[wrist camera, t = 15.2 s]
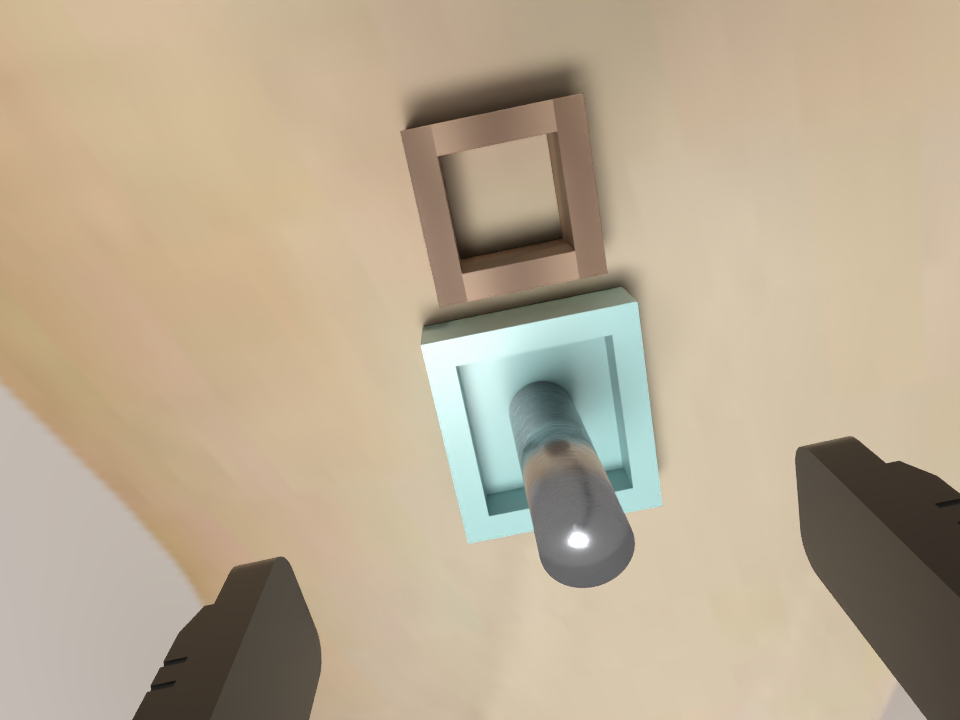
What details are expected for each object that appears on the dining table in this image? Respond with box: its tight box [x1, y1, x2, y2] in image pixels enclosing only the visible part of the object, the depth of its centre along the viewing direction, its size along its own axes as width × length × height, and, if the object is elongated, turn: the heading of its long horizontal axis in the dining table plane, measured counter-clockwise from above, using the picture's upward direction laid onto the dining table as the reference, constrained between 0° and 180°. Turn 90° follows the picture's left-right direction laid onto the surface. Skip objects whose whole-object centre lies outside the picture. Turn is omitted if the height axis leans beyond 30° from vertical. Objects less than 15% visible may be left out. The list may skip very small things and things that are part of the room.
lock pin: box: [509, 381, 635, 588], centre depth 35 cm, size 4×4×14 cm
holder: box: [400, 93, 607, 307], centre depth 36 cm, size 9×9×4 cm
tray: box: [421, 287, 662, 544], centre depth 41 cm, size 12×13×4 cm
